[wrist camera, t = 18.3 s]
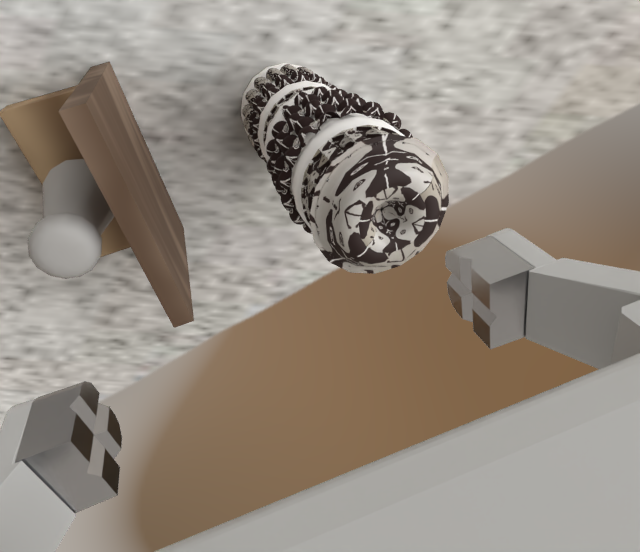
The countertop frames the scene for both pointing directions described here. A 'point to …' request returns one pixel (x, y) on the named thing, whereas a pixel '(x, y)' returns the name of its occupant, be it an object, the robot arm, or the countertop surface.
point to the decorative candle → (345, 169)
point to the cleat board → (111, 175)
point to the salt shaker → (69, 222)
